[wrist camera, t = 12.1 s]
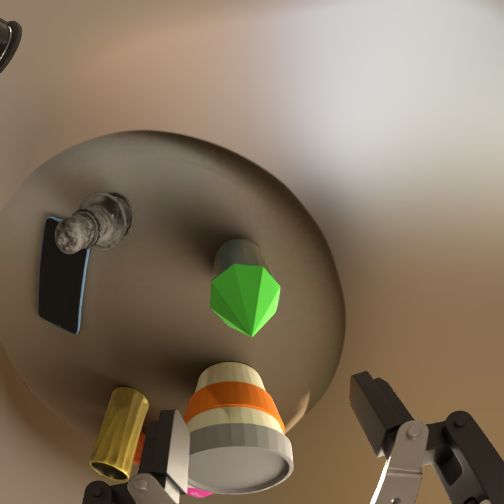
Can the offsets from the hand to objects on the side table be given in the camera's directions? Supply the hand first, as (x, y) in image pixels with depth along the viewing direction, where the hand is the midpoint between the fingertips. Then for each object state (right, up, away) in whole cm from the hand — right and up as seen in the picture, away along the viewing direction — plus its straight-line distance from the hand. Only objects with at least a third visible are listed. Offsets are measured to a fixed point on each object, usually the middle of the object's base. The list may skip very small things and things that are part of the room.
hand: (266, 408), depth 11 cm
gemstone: (-1, +3, +12) cm, 12 cm away
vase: (-19, -16, +25) cm, 35 cm away
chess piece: (-16, +11, +18) cm, 26 cm away
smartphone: (-25, +4, +19) cm, 31 cm away
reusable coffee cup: (-4, -12, +25) cm, 28 cm away
